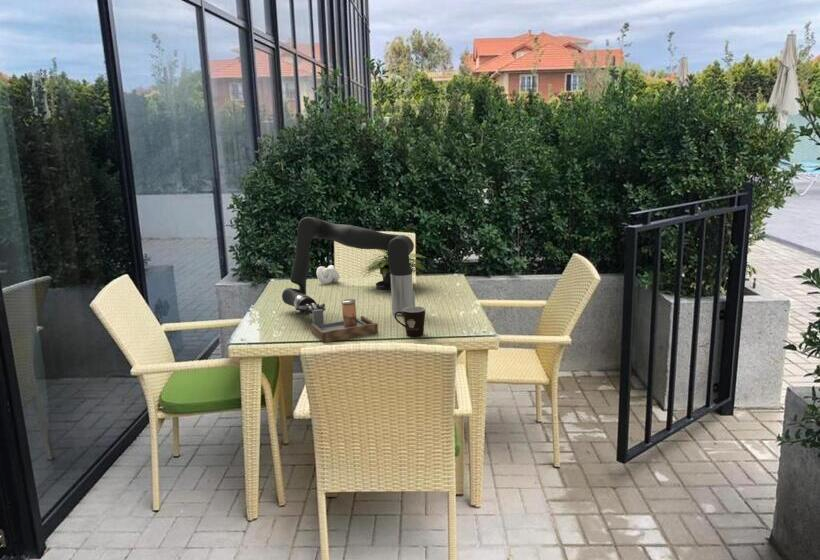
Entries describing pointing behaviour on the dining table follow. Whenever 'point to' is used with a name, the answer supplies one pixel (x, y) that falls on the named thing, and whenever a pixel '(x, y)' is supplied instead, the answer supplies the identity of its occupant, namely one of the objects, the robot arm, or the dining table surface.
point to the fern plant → (388, 270)
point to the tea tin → (349, 313)
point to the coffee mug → (413, 321)
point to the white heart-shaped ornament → (327, 274)
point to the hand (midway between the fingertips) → (317, 313)
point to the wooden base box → (345, 331)
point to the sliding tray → (319, 322)
